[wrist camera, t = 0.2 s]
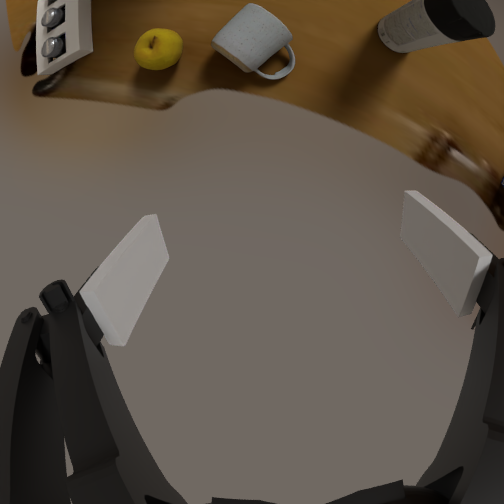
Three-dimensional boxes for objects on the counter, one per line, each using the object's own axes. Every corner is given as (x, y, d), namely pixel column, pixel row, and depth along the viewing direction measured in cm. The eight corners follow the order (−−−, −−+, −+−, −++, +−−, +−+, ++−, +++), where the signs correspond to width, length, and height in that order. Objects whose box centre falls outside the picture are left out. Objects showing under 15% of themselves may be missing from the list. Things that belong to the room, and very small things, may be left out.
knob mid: (54, 17, 22) (40, 14, 19) (69, 7, 22) (55, 3, 18) (54, 31, 24) (39, 29, 21) (69, 22, 24) (55, 19, 20)
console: (50, -2, 21) (38, -5, 17) (91, -27, 20) (80, -33, 16) (51, 74, 30) (37, 75, 27) (93, 51, 29) (79, 49, 26)
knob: (54, 44, 26) (39, 43, 22) (69, 35, 25) (55, 32, 22) (55, 61, 27) (40, 61, 24) (70, 52, 27) (55, 50, 24)
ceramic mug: (211, 49, 30) (200, 39, 24) (250, 12, 27) (247, -6, 21) (268, 93, 34) (270, 90, 27) (307, 56, 31) (317, 46, 24)
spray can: (409, 61, 28) (496, 51, 11) (371, 41, 28) (445, 9, 11) (416, 29, 25) (498, 8, 8) (379, 9, 25) (449, -33, 7)
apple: (191, 33, 29) (174, 19, 22) (187, 71, 32) (169, 64, 25) (150, 37, 29) (127, 26, 22) (147, 74, 32) (122, 70, 25)
